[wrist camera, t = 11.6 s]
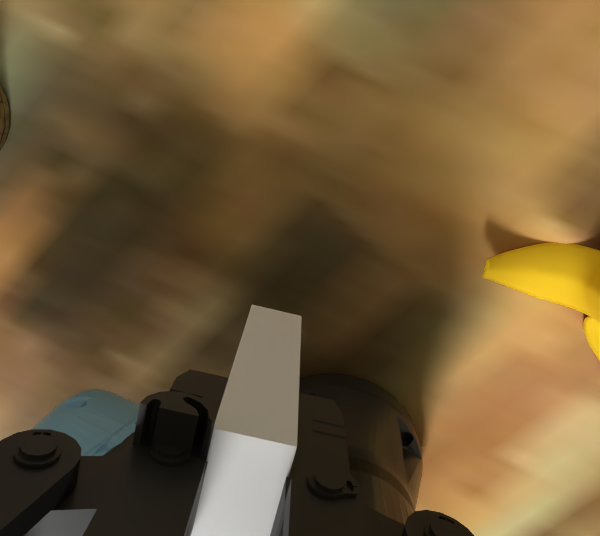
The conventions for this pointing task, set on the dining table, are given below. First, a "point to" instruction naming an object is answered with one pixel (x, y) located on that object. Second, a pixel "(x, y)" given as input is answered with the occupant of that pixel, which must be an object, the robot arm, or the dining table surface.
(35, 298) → the dining table surface
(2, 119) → the wooden mug
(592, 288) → the banana peel
